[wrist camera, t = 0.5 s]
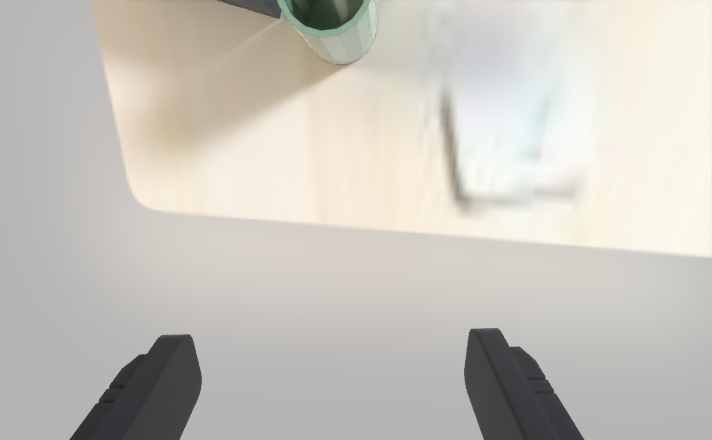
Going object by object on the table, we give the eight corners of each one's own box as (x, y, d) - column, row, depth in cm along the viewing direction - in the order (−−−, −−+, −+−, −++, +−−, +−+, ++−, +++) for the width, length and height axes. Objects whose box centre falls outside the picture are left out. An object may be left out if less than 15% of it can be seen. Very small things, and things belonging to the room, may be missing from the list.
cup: (315, -23, 30) (287, -87, 22) (385, -2, 30) (386, -59, 22) (297, 53, 32) (264, 21, 23) (364, 73, 32) (357, 48, 23)
